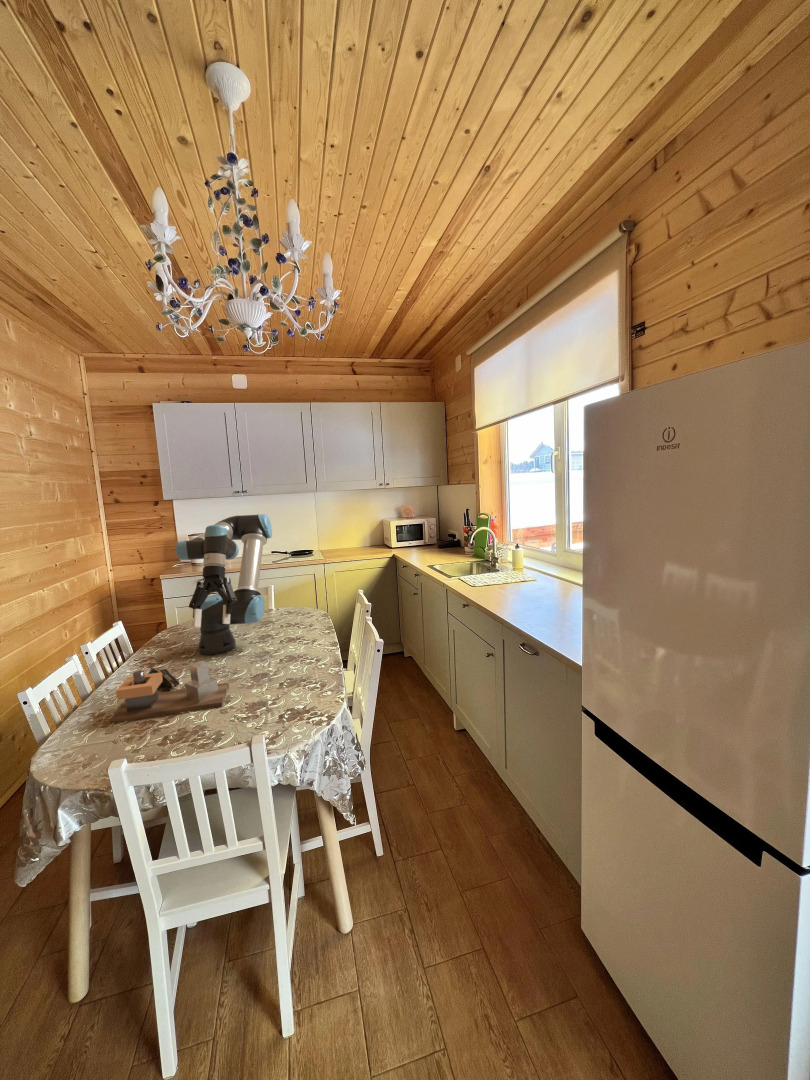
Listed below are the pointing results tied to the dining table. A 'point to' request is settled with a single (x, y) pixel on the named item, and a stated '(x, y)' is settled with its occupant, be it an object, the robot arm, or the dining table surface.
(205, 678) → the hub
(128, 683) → the collar
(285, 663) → the dining table surface
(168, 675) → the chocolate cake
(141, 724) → the dining table surface
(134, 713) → the board
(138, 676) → the stand
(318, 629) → the dining table surface
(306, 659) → the dining table surface
